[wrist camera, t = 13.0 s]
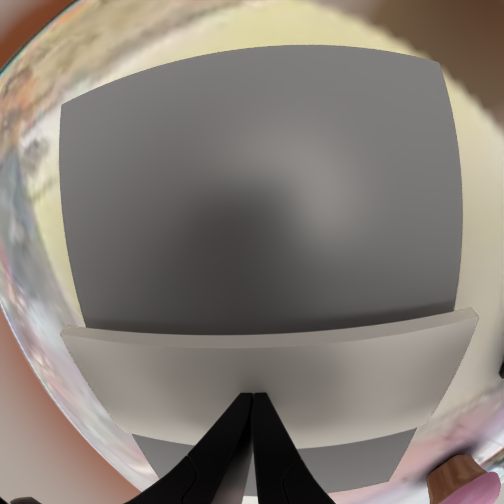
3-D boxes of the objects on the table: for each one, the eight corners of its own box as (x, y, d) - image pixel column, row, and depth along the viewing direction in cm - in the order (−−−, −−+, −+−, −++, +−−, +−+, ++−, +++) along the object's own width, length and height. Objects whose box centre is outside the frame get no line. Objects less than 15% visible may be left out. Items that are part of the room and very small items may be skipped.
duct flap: (470, 307, 7) (479, 316, 6) (422, 416, 9) (425, 424, 9) (67, 325, 8) (59, 333, 8) (125, 422, 11) (121, 430, 10)
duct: (397, 95, 10) (439, 62, 6) (375, 437, 15) (388, 481, 11) (114, 123, 12) (61, 104, 8) (180, 442, 17) (163, 484, 12)
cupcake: (400, 484, 17) (417, 550, 7) (461, 436, 15) (495, 503, 5) (437, 484, 17) (455, 535, 7) (487, 441, 15) (516, 491, 5)
